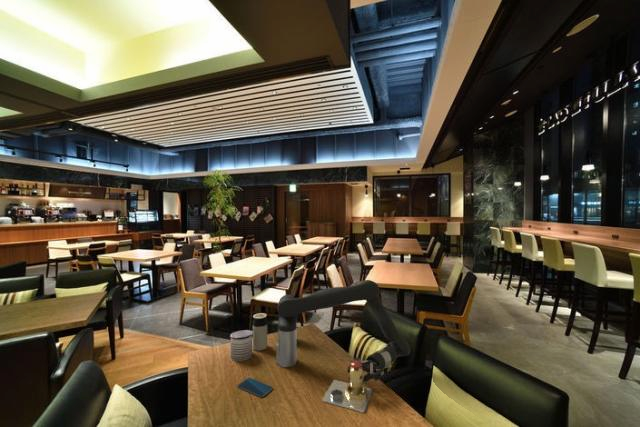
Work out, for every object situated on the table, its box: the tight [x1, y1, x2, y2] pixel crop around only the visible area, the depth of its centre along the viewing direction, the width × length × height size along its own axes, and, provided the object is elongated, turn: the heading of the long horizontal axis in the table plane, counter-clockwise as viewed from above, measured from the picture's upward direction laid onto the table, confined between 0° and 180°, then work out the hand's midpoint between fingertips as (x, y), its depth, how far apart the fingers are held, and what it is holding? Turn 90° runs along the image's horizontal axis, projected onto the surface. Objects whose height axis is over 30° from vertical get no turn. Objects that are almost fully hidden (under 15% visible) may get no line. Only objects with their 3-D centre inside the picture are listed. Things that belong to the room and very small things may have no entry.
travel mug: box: [252, 312, 268, 352], centre depth 154 cm, size 8×8×18 cm
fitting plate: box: [321, 379, 373, 414], centre depth 113 cm, size 17×14×2 cm
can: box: [229, 329, 253, 362], centre depth 146 cm, size 11×11×12 cm
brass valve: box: [349, 359, 364, 395], centre depth 114 cm, size 5×5×12 cm
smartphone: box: [236, 377, 274, 399], centre depth 118 cm, size 8×15×1 cm, turn 59°
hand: (355, 374), depth 113 cm, fingers open, 8 cm apart
